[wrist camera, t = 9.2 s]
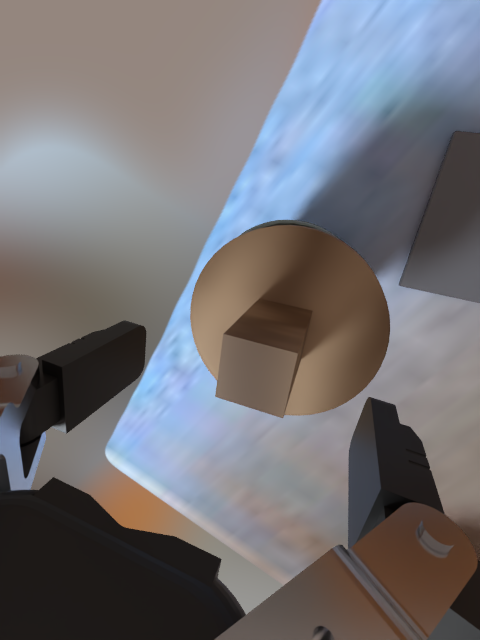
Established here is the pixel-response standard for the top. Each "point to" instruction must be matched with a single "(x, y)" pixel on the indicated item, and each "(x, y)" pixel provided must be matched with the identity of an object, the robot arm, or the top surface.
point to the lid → (289, 321)
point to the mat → (450, 227)
